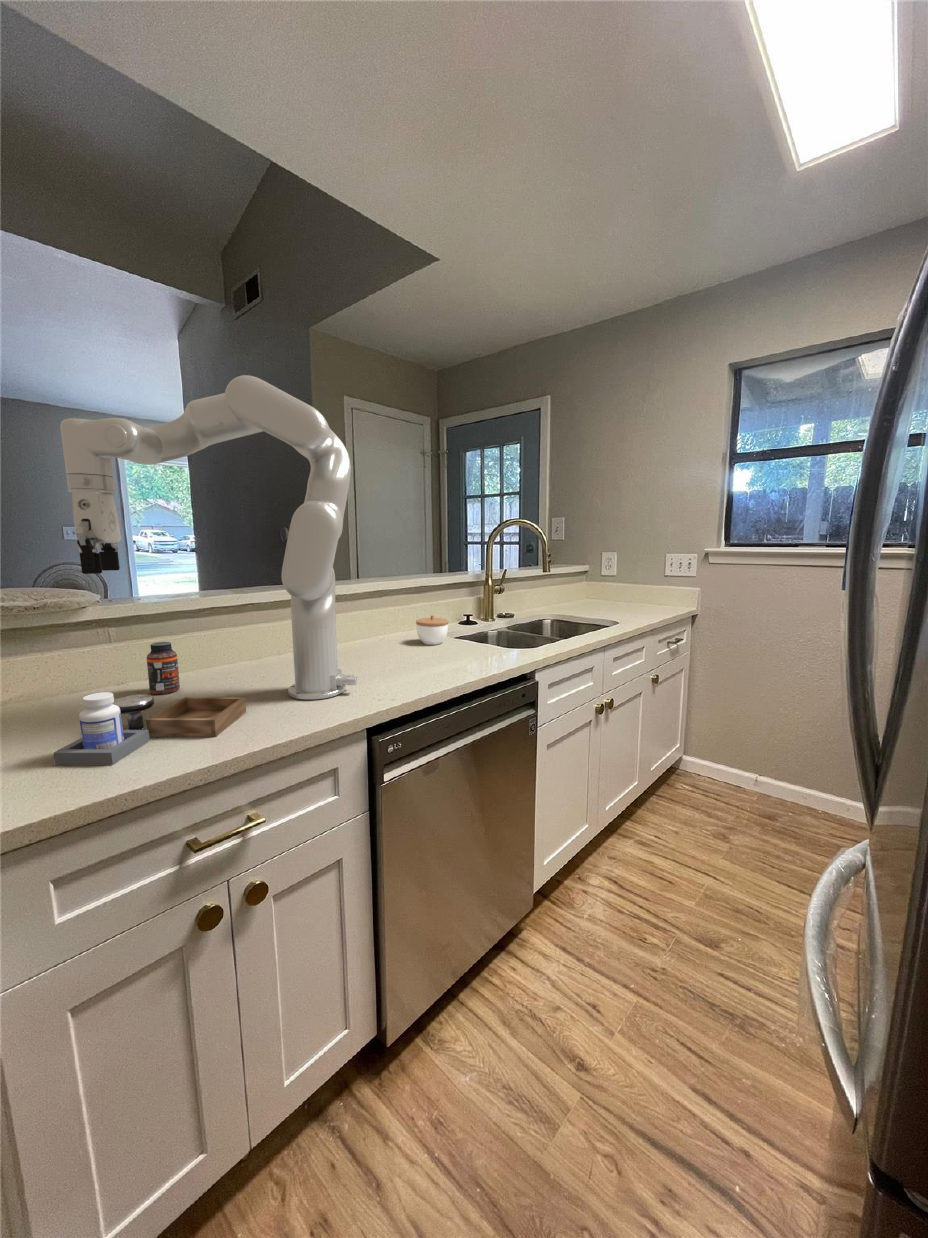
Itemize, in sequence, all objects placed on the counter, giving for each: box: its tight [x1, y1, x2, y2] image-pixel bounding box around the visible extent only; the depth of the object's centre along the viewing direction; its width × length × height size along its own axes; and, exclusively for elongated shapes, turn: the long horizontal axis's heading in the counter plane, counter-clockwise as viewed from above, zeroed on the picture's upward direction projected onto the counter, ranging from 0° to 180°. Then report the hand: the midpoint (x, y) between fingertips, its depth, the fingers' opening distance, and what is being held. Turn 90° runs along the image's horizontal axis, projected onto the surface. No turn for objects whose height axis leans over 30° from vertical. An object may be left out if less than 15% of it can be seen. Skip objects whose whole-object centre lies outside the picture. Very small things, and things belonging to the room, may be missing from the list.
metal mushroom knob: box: [113, 693, 155, 730], centre depth 90 cm, size 6×6×6 cm
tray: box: [145, 696, 247, 738], centre depth 92 cm, size 12×12×3 cm
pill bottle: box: [78, 691, 124, 749], centre depth 79 cm, size 5×5×10 cm
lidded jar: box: [415, 614, 449, 646], centre depth 162 cm, size 11×11×9 cm
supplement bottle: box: [146, 641, 181, 695], centre depth 111 cm, size 6×6×11 cm
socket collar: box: [53, 729, 151, 766], centre depth 80 cm, size 9×9×2 cm
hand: (102, 571), depth 100 cm, fingers open, 9 cm apart
